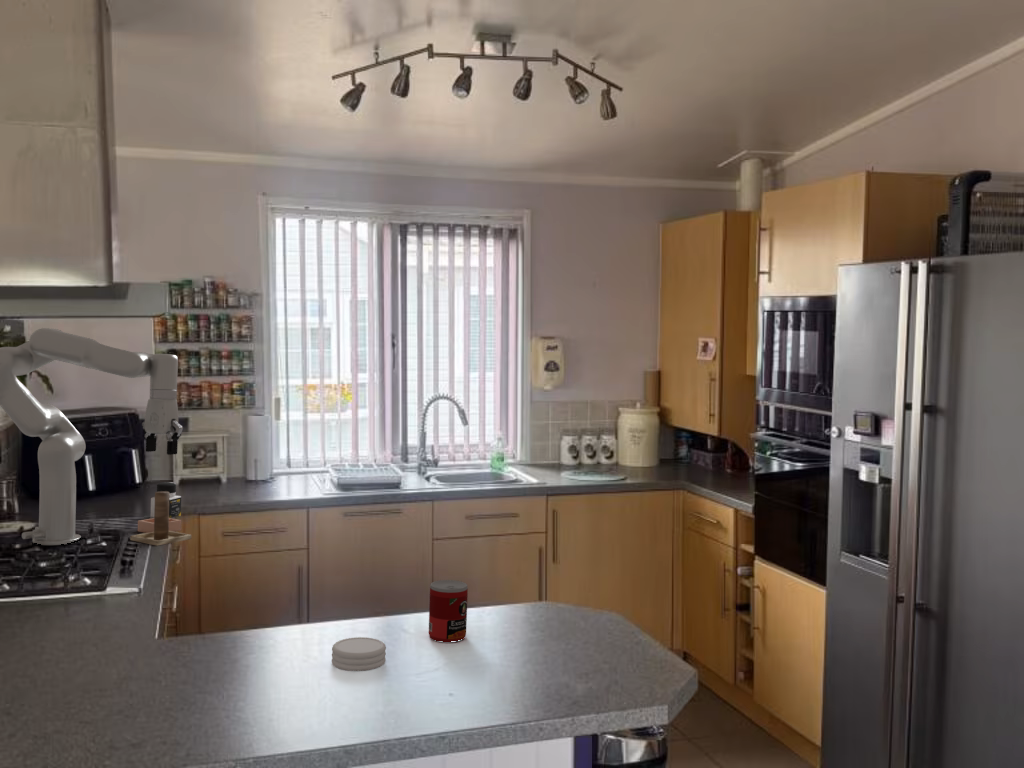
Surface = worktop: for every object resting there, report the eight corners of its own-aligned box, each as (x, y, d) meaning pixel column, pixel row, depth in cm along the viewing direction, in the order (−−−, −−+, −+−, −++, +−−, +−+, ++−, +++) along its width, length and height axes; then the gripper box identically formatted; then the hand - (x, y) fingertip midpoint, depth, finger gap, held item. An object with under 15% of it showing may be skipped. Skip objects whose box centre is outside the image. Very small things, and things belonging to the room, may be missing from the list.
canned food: (452, 646, 176) (453, 591, 176) (420, 638, 180) (422, 585, 180) (473, 636, 183) (475, 583, 182) (442, 629, 187) (444, 577, 187)
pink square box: (156, 537, 268) (157, 524, 268) (137, 533, 272) (137, 520, 272) (181, 532, 276) (181, 520, 275) (162, 529, 280) (162, 516, 280)
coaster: (327, 672, 160) (328, 653, 160) (335, 653, 170) (336, 635, 170) (382, 673, 160) (383, 654, 160) (387, 654, 170) (388, 636, 170)
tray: (157, 548, 253) (157, 541, 253) (130, 542, 259) (130, 535, 259) (191, 541, 264) (191, 534, 264) (164, 536, 270) (164, 529, 270)
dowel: (159, 541, 259) (160, 493, 258) (150, 539, 261) (152, 492, 260) (171, 539, 262) (172, 492, 262) (162, 537, 264) (163, 491, 264)
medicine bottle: (169, 520, 295) (169, 484, 295) (150, 518, 297) (150, 483, 296) (181, 516, 302) (182, 481, 302) (162, 515, 304) (163, 480, 303)
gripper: (133, 393, 263) (131, 451, 263) (171, 397, 254) (169, 456, 254) (155, 393, 269) (153, 449, 269) (193, 397, 260) (191, 454, 260)
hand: (161, 452), depth 262 cm, fingers open, 9 cm apart
